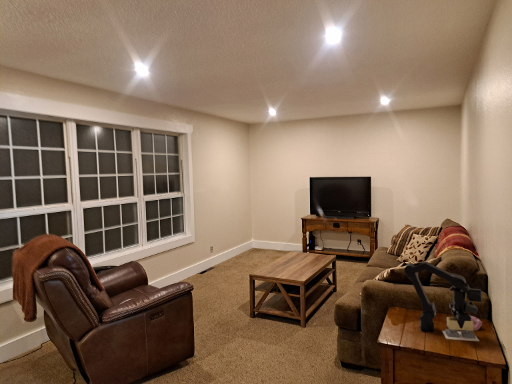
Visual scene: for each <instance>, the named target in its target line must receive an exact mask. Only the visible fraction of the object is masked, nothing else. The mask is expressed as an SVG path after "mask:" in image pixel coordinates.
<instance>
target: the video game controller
mask: <svg viewBox="0 0 512 384" xmlns="http://www.w3.org/2000/svg"><path fill="white" fill-rule="evenodd" d="M470 317H471V319H472V321H473V331H476V332H477V331H478V330H479V329H480V328H481V326H482V325H483V322H482V321H481V319H479V318H478V317H476V316H473V315H470ZM482 327H483V326H482Z"/></svg>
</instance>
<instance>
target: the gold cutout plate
mask: <svg viewBox="0 0 512 384" xmlns="http://www.w3.org/2000/svg"><path fill="white" fill-rule="evenodd" d="M473 324H474V322H473V321H472V319H471V321H465V322H464V325H463V328H460V327H459V325H458V322H457V320H456V317H454V316H446V327H447V329H454V330H457V331H461V330H470V331H473V332H474V327H473Z"/></svg>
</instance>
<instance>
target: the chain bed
mask: <svg viewBox="0 0 512 384" xmlns="http://www.w3.org/2000/svg"><path fill="white" fill-rule="evenodd" d="M441 332H442V334H443V335H444V337H445V339H446V340H455V341H467V342H468V341H469V342H470V341H471V342H480V339H479V338H478V336H477V335H476V333H475V332H474V330H473V331H470V330H460V331H458V330H454V329H449V328H445V330H441Z"/></svg>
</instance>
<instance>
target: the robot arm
mask: <svg viewBox="0 0 512 384" xmlns="http://www.w3.org/2000/svg"><path fill="white" fill-rule="evenodd" d="M422 271H427V272H428V273H431V274H433V275H435V276H438V277H439V278H441V279H443V280H445V281H447V282H448V284H451V287H449V291H451V292H453V298H452V301H451V302H449V303H448V307H449V309H450V311H451V314H452V315H453V316H452V317H456V320H457V322H458V325H459V327H460V328H463V325H464V322H465V321H471V317H470V316H471V315H470V314H469V313H472V314H474V315H476V314H477V312H478V310H479V308H478V307H477V306H476V305H475V304H474V303H473V302H477V303H482V295H483V294H482V290H481V288H472V287H470V285H469V284H468V283H467V280H466V278H465V277H464V276H462V275H460V274H457V273H453V272H452V273H451V272H449V271H446V270H445V269H442V268H440V267H439V266H436V265H434V264H431V263H430V262H428V261H427V260H426V261H425V260H424V261H420V262H415V263H412V262H410V263H407V264H406V265H405V267H404V268H403V272H404V273H405V275H406V276H407V278H408V279H409V280H410V281H411V282H412V285H413V287H414V291H415V292H416V294H417V296H418V298H419V301H420V303H421V309H422V312H421V314H420V316H419V329H420V331H421V332H425V333H434V330H435V323H434V321H433V319H435V317H436V314H437V307H436V306H435V303H434V302H431V301H430V300H429V298H428V296H427V294H426V291H425V289H424V287H423V284H422V283H421V280H420V279H419V272H422ZM466 300H468V301H466Z"/></svg>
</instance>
